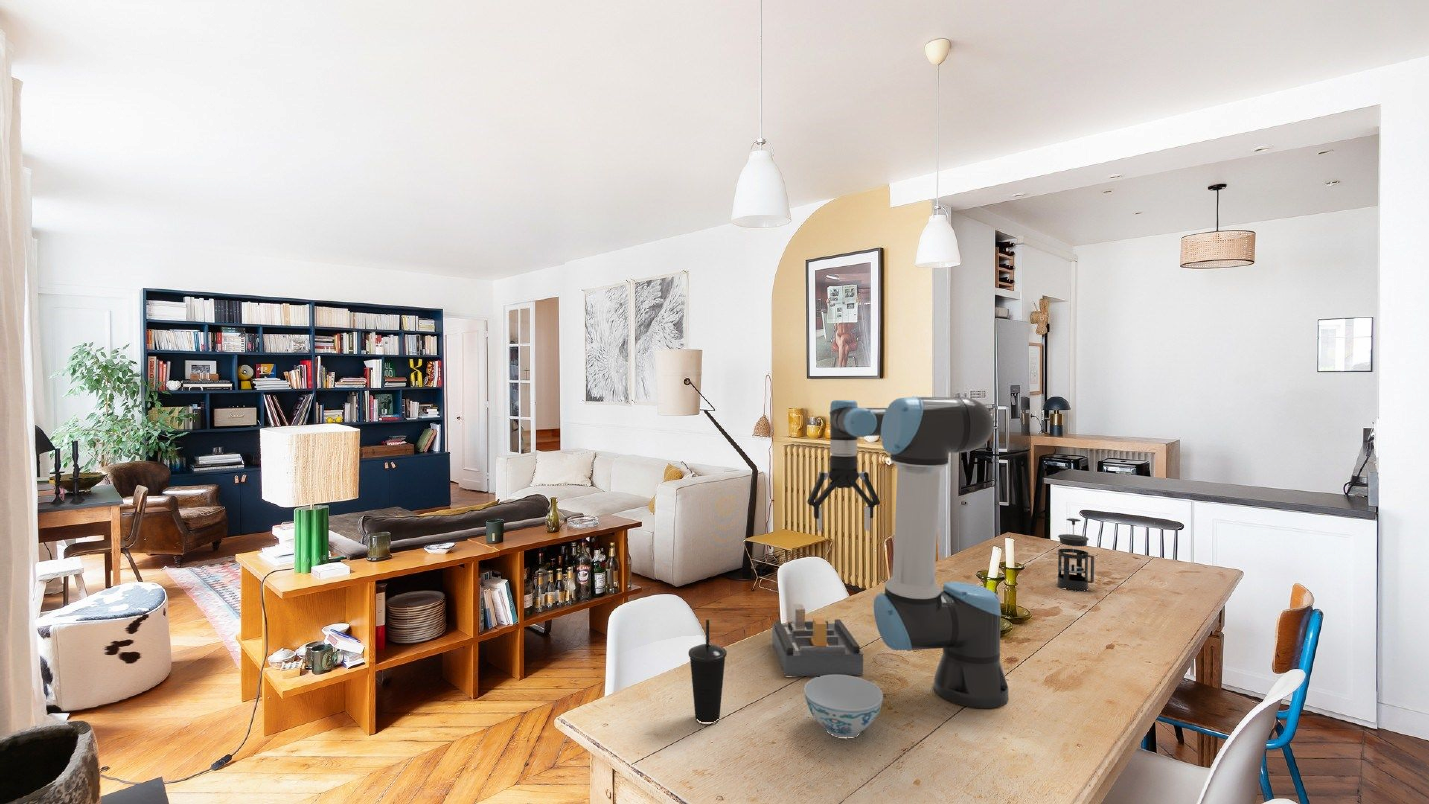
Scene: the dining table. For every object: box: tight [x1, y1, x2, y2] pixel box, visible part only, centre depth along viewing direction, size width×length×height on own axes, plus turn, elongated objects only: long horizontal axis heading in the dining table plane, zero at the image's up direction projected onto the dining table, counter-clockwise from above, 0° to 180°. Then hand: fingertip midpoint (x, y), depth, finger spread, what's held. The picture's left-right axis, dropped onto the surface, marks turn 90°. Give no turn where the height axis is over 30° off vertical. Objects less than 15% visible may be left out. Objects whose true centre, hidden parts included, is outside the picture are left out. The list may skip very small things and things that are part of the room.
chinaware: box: [803, 675, 884, 738], centre depth 129 cm, size 15×15×8 cm
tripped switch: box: [811, 617, 829, 646], centre depth 158 cm, size 5×3×6 cm
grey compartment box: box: [771, 603, 864, 676], centre depth 163 cm, size 20×18×11 cm
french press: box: [1056, 517, 1095, 592], centre depth 221 cm, size 12×9×23 cm
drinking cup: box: [688, 619, 728, 722], centre depth 133 cm, size 8×8×20 cm
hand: (843, 530), depth 187 cm, fingers open, 13 cm apart
